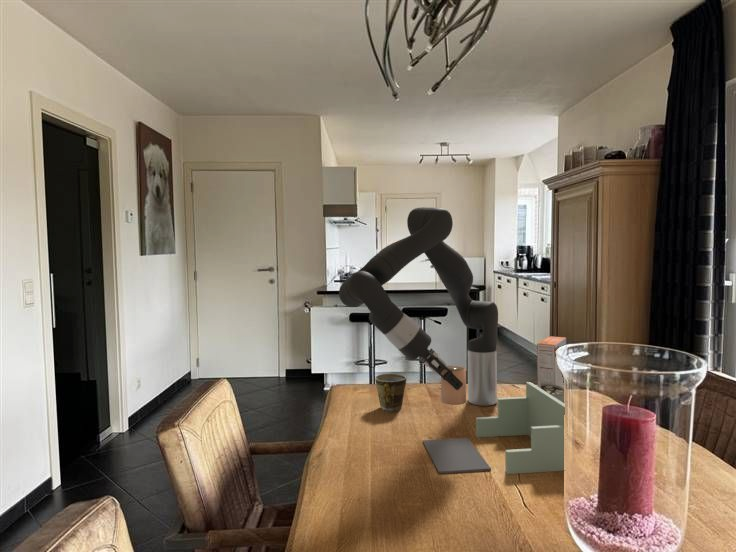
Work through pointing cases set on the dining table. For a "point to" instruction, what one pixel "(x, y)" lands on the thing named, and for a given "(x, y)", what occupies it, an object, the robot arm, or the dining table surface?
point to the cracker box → (549, 361)
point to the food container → (554, 391)
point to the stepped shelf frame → (529, 430)
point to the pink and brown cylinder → (448, 391)
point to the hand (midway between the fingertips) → (456, 383)
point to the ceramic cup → (390, 390)
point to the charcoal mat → (455, 456)
